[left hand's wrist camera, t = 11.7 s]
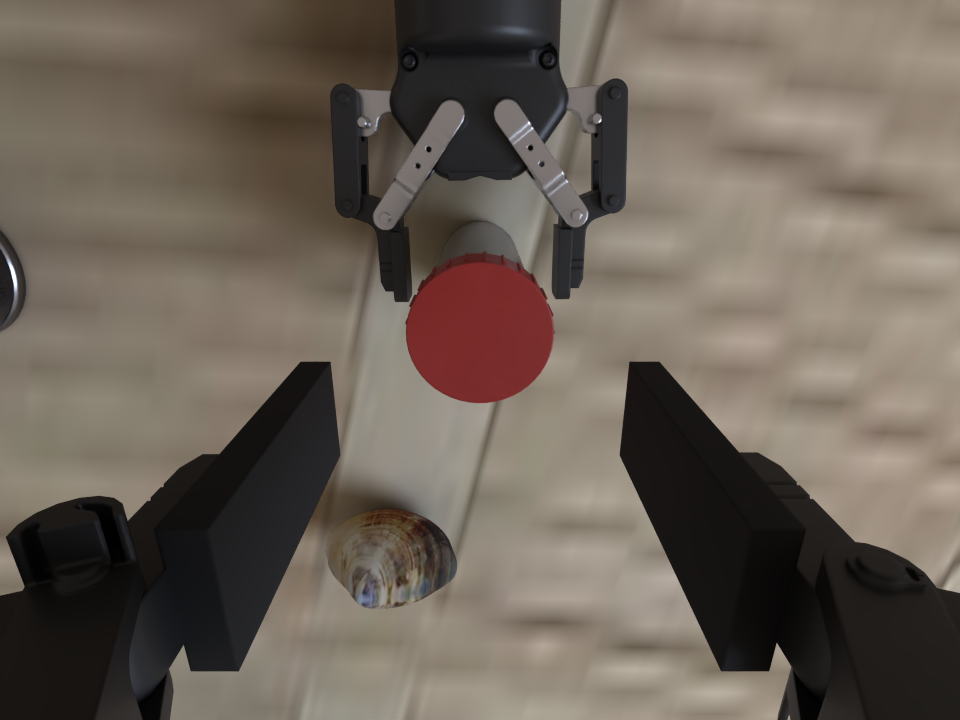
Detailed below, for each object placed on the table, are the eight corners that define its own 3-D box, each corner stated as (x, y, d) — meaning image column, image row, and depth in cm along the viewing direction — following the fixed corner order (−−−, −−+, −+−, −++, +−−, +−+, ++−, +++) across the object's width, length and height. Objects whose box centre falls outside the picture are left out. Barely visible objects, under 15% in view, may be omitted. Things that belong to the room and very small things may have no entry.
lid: (484, 219, 20) (484, 226, 18) (577, 323, 22) (587, 340, 20) (382, 316, 22) (372, 332, 20) (476, 408, 23) (476, 431, 21)
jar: (482, 204, 33) (483, 240, 19) (532, 261, 35) (570, 335, 20) (427, 257, 35) (389, 329, 20) (478, 310, 36) (476, 414, 21)
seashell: (336, 545, 42) (305, 628, 35) (338, 484, 40) (306, 558, 33) (455, 557, 43) (449, 642, 35) (463, 498, 41) (459, 574, 33)
